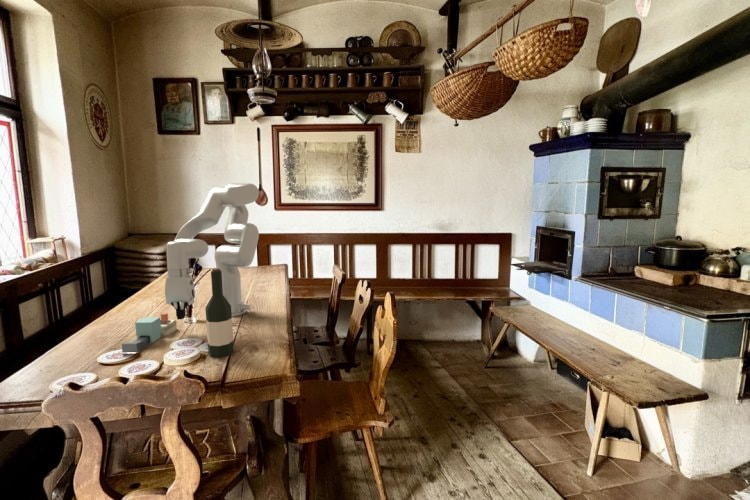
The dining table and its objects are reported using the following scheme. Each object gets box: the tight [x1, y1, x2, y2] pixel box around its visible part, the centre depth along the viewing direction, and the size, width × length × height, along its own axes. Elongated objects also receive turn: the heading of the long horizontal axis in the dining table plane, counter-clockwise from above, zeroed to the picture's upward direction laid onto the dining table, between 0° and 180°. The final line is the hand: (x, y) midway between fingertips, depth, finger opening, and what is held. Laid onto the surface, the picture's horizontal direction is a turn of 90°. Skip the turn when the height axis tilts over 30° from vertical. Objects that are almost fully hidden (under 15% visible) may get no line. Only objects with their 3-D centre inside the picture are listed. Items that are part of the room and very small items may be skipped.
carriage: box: [134, 316, 162, 344], centre depth 152 cm, size 6×6×8 cm
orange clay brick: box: [160, 312, 169, 322], centre depth 161 cm, size 2×1×4 cm
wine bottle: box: [205, 267, 235, 359], centre depth 139 cm, size 8×8×30 cm
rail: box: [121, 336, 151, 353], centre depth 148 cm, size 5×17×4 cm, turn 1°
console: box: [160, 319, 178, 337], centre depth 161 cm, size 10×8×5 cm
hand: (181, 318), depth 160 cm, fingers closed
